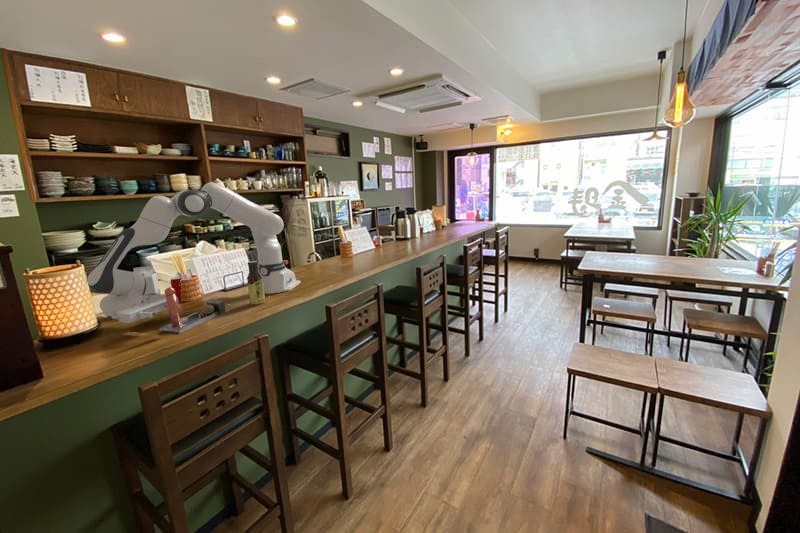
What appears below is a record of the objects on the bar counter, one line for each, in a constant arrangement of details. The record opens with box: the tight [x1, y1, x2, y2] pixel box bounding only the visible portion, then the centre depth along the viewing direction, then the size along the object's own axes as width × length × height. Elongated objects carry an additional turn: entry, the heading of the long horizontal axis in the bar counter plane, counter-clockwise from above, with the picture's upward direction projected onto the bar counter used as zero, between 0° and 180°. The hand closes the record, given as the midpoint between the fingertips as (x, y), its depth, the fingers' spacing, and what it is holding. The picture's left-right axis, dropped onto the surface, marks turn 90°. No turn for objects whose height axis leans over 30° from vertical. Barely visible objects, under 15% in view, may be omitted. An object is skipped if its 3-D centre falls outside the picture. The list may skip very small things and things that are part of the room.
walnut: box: [202, 304, 214, 315], centre depth 142 cm, size 4×4×4 cm
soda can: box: [170, 275, 182, 304], centre depth 163 cm, size 6×6×12 cm
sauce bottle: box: [246, 260, 266, 307], centre depth 152 cm, size 6×6×20 cm
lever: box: [162, 287, 189, 333], centre depth 127 cm, size 7×7×16 cm
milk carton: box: [133, 265, 162, 295], centre depth 155 cm, size 7×7×19 cm
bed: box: [159, 299, 231, 334], centre depth 137 cm, size 24×10×5 cm, turn 163°
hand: (164, 309), depth 129 cm, fingers open, 8 cm apart
